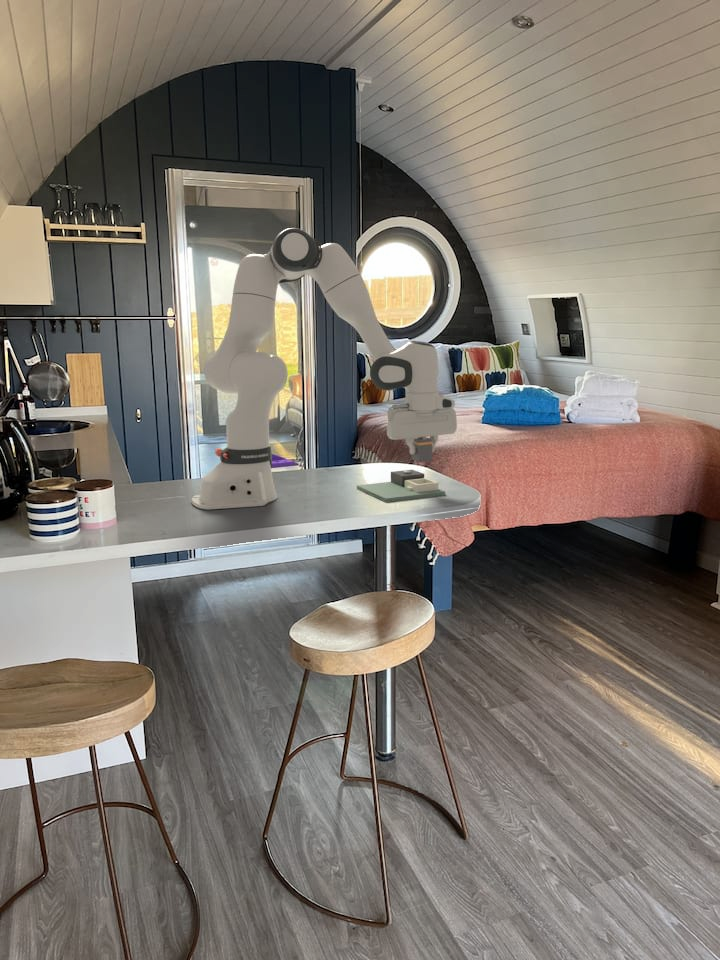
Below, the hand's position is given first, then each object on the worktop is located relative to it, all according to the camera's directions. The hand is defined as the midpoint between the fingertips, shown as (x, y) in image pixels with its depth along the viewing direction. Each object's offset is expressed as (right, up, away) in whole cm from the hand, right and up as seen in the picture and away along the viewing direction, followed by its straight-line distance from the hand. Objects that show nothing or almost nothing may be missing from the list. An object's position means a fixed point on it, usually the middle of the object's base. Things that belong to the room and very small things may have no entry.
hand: (422, 452), depth 203 cm
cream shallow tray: (0, -10, +1) cm, 10 cm away
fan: (-4, -8, +8) cm, 12 cm away
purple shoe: (-44, -4, +40) cm, 59 cm away
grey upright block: (0, -2, +1) cm, 2 cm away
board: (-6, -11, +2) cm, 12 cm away
